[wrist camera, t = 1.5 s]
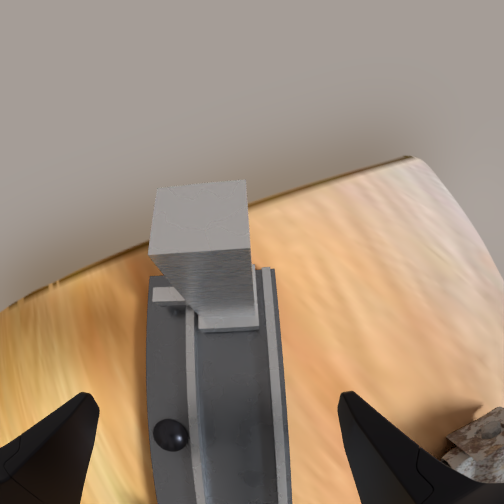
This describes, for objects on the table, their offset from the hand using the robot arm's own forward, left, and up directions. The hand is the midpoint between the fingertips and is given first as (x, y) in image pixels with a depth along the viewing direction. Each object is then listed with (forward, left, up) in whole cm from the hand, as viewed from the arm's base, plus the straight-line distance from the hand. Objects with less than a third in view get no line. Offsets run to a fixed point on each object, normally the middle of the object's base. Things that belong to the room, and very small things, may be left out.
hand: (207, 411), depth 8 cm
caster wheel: (+1, -23, -12) cm, 26 cm away
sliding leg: (+5, +5, -10) cm, 12 cm away
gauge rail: (-4, -1, -12) cm, 12 cm away
